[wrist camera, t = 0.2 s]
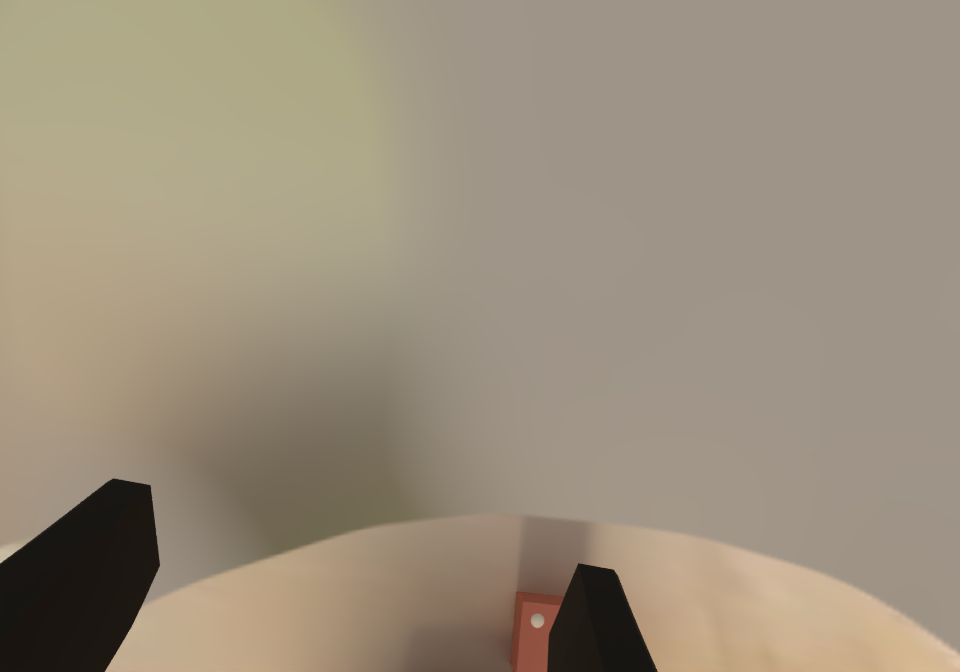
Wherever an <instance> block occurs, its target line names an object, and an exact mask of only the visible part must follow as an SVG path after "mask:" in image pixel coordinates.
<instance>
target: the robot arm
mask: <svg viewBox="0 0 960 672" xmlns="http://www.w3.org/2000/svg"><path fill="white" fill-rule="evenodd" d="M159 566H160V561H159V553H158V545H157V536H156V528H155V520H154V511H153V503H152V495H151V486H150V485H146V484H141V483H135V482H130V481H124V480H119V479H112V480H110V481H108V482H107V483H105V484H104V485H103V486H101V488H99V489H98V490H96V491H95V492H94V493H92V494H91V495H90V496H89V497H87V498H86V499H85V500H84V501H82V502H81V503H80V504H78V505H77V506H76V507H74V508H73V509H72V510H70V511H69V512H68V513H67V514H65V515H64V516H63V517H62V518H60V519H59V520H58V521H56V522H55V523H54V524H52V525H51V526H50V527H49V528H47V529H46V530H45V531H43V532H42V533H41V534H39V535H38V536H37V537H35V538H34V539H33V540H31V541H30V542H29V543H27V544H26V545H25V546H23V547H22V548H21V549H19V550H18V551H17V552H15V553H14V554H13V555H11V556H10V557H8V558H7V559H6V560H4V561H3V562H2V563H0V672H105V670H106V669H107V667H108V665H109V664H110V662H111V660H112V659H113V657H114V655H115V654H116V652H117V650H118V649H119V647H120V645H121V644H122V642H123V640H124V639H125V637H126V635H127V634H128V632H129V630H130V629H131V627H132V625H133V623H134V621H135V619H136V616H137V614H138V612H139V610H140V608H141V606H142V604H143V602H144V599H145V598H146V595H147V593H148V591H149V588H150V586H151V584H152V582H153V580H154V577H155V575H156V573H157V571H158V568H159ZM547 672H658V671H657V669H656V667H655V665H654V662H653V660H652V658H651V656H650V653H649V651H648V649H647V646H646V644H645V642H644V639H643V637H642V635H641V632H640V630H639V628H638V625H637V623H636V620H635V618H634V616H633V613H632V611H631V608H630V606H629V603H628V601H627V598H626V596H625V593H624V591H623V588H622V585H621V583H620V580H619V577H618V575H617V574H616V572H615V571H614V570H612V569H607V568H601V567H596V566H590V565H585V564H579V563H578V566H577V568H576V570H575V573H574V575H573V578H572V580H571V582H570V585H569V587H568V590H567V592H566V594H565V597H564V599H563V602H562V604H561V606H560V609H559V611H558V614H557V616H556V618H555V621H554V623H553V625H552V628H551V630H550V633H549V641H548V662H547Z"/></svg>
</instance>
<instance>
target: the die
mask: <svg viewBox="0 0 960 672" xmlns="http://www.w3.org/2000/svg"><path fill="white" fill-rule="evenodd" d="M563 599H564V597H558V596H549V595H541V594H532V593H523V592H517V594H516V604H515V615H514V626H513V637H512V648H511V659H510V663H511V666H512V669H513V672H547V662H548V641H549V633H550V630H551V628H552V625H553V623H554V621H555V618H556V616H557V614H558V611H559V609H560V606H561V604H562V602H563Z"/></svg>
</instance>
